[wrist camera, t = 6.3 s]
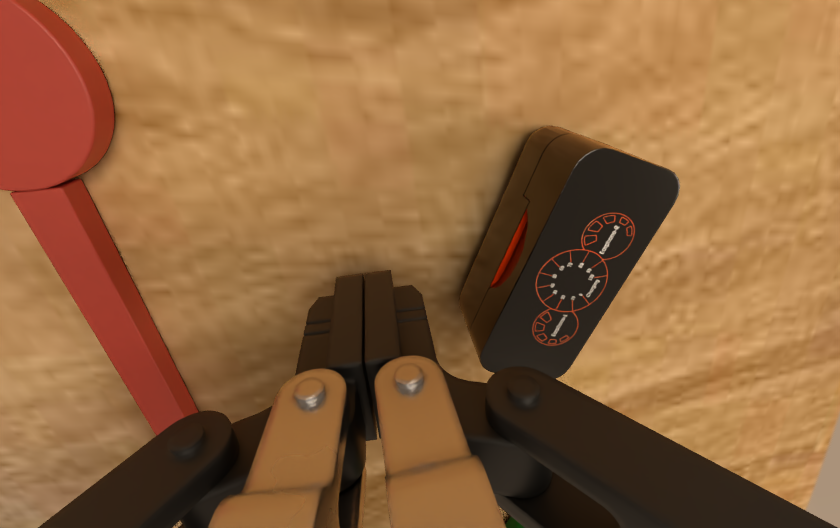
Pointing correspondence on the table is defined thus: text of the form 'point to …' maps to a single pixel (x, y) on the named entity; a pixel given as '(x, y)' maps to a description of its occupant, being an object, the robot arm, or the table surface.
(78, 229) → the spoon
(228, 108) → the table surface
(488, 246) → the black gauge box
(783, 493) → the table surface
